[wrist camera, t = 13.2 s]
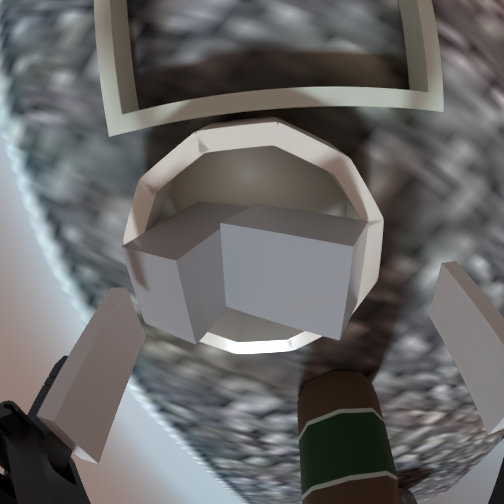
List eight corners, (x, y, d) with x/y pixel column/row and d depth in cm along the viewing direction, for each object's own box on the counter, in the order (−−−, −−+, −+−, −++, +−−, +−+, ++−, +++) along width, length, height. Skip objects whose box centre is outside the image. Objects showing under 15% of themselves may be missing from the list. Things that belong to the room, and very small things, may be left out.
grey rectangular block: (198, 201, 18) (121, 246, 13) (250, 206, 16) (176, 260, 12) (208, 267, 20) (145, 322, 15) (255, 278, 18) (196, 344, 14)
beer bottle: (301, 416, 29) (309, 621, 8) (289, 376, 26) (295, 639, 5) (372, 402, 28) (406, 604, 7) (373, 358, 25) (426, 615, 4)
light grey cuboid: (219, 223, 14) (353, 246, 11) (257, 204, 16) (368, 221, 14) (226, 306, 16) (339, 340, 13) (258, 278, 18) (357, 302, 15)
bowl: (135, 136, 17) (100, 151, 13) (356, 113, 15) (385, 119, 11) (178, 311, 23) (164, 354, 19) (352, 299, 22) (367, 342, 18)
